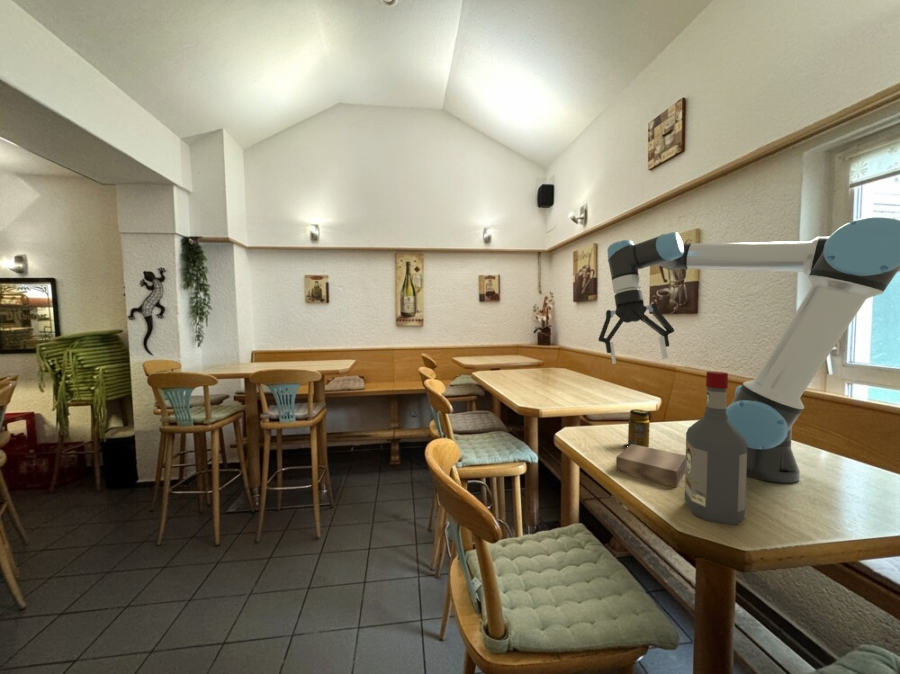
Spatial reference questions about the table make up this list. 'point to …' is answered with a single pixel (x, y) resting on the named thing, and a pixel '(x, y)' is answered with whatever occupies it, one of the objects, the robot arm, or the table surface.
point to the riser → (652, 464)
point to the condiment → (638, 429)
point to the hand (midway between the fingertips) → (639, 361)
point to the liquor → (716, 460)
